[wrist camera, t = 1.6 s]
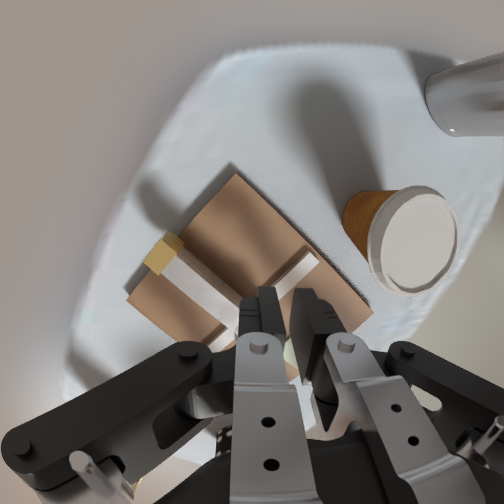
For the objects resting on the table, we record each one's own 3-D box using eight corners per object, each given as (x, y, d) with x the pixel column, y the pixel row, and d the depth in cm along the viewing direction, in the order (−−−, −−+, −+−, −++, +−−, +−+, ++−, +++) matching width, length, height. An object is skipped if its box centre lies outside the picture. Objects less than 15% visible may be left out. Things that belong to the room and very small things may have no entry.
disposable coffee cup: (334, 264, 31) (376, 315, 20) (322, 183, 29) (368, 196, 17) (402, 247, 31) (460, 285, 20) (395, 172, 28) (462, 181, 17)
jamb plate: (236, 173, 28) (233, 174, 22) (370, 308, 33) (389, 332, 28) (129, 296, 32) (110, 319, 26) (263, 393, 37) (266, 423, 32)
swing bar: (278, 316, 30) (282, 334, 27) (253, 337, 31) (254, 356, 28) (174, 226, 27) (164, 234, 24) (151, 253, 28) (139, 265, 24)
